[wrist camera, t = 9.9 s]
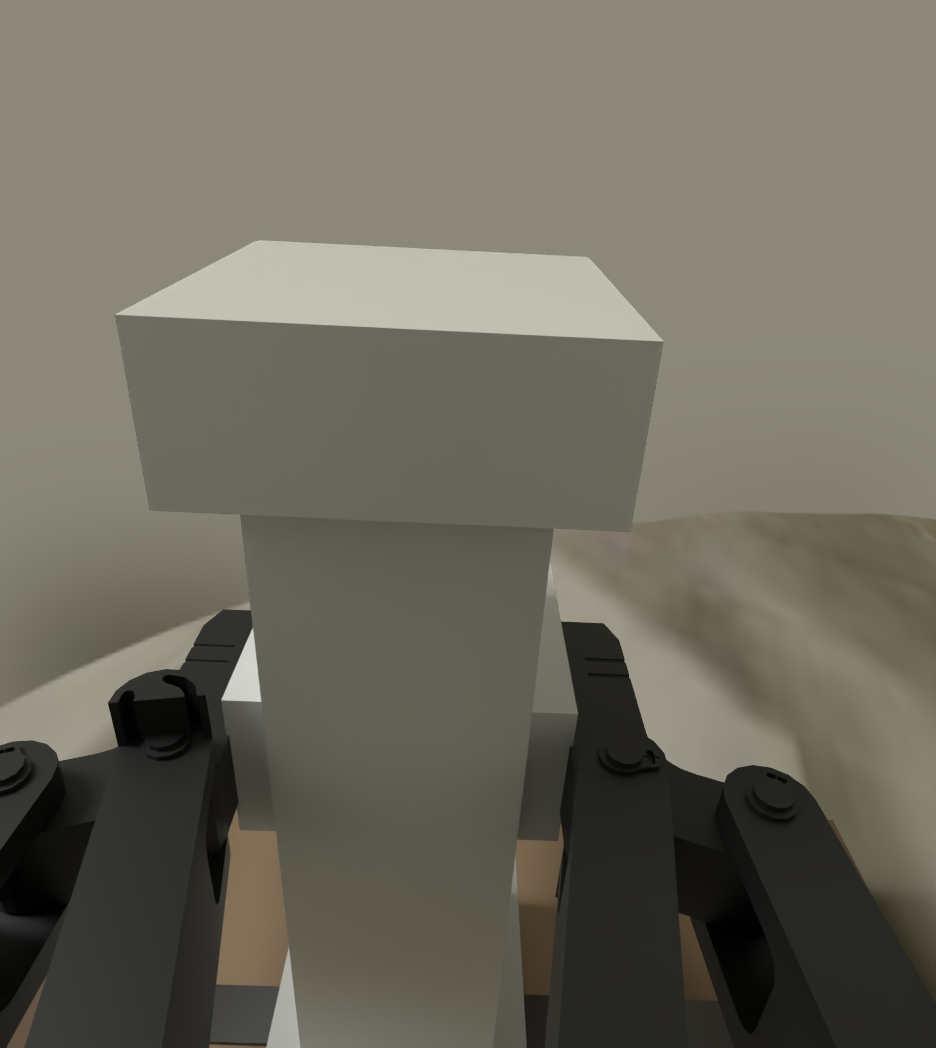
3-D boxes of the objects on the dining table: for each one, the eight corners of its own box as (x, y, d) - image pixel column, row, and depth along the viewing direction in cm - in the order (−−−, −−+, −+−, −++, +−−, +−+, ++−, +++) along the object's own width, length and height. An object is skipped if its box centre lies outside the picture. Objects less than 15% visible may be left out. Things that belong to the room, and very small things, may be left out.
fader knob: (509, 889, 19) (584, 252, 12) (524, 1182, 14) (676, 356, 6) (316, 882, 19) (265, 236, 11) (255, 1174, 14) (89, 327, 6)
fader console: (802, 876, 24) (832, 802, 22) (1079, 1504, 13) (1176, 1449, 11) (-12, 846, 23) (-42, 769, 22) (-433, 1472, 12) (-556, 1411, 11)
